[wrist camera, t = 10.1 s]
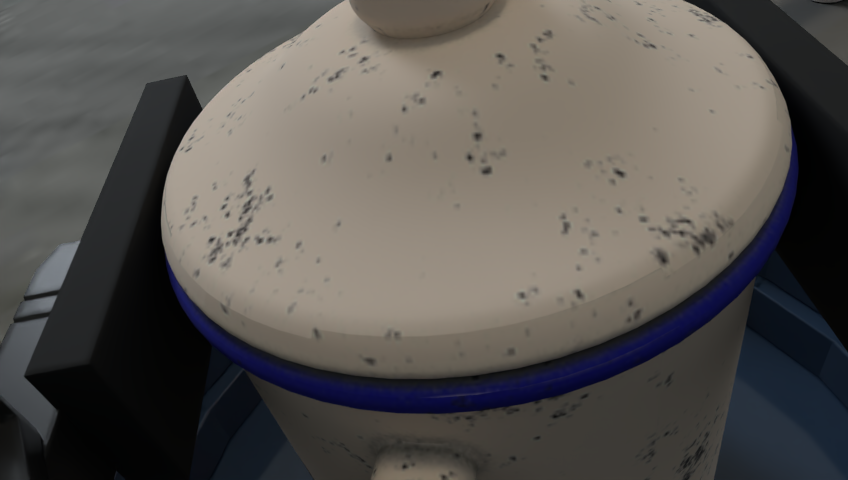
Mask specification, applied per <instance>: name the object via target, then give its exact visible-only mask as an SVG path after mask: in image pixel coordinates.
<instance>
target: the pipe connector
mask: <svg viewBox="0 0 848 480" xmlns="http://www.w3.org/2000/svg"><path fill="white" fill-rule="evenodd" d="M813 1H816V2H823V3H832V2H838V1H842V0H813Z"/></svg>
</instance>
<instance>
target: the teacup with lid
mask: <svg viewBox="0 0 848 480" xmlns="http://www.w3.org/2000/svg"><path fill="white" fill-rule="evenodd" d="M798 170H799V167H798V153H797V145H796V141H795V137H794V133H793V129H792V126H791V121H790V117H789V113H788V109H787V105H786V101H785V99H784V97H783V95H782V93H781V90H780V88H779V86H778V84H777V82H776V80H775V78H774V76H773V75H772V73H771V72H770V70H769V69H768V67H767V66H766V64H765V63H764V61H763V60H762V58H761V57H760V55H759V54H758V53H757V52H756V51H755V50H754V49H753V48H752V46H751V45H750V44H749V43H748V42H747V41H746V40H745V39H744V38H743V37H741V36H740V35H739V34H738V33H737V32H735V31H734V30H733V29H732V28H731V27H729V26H728V25H727V24H725V23H724V22H722V21H721V20H719V19H718V18H716V17H715V16H713V15H712V14H710V13H708V12H706V11H704V10H702V9H700V8H698V7H696V6H695V5H692V4H690V3H688V2H685V1H683V0H345V1H343V2H342V3H340V4H339V5H337V6H335V7H334V8H333V9H331V10H330V11H328V12H327V13H326V14H324V15H323V16H322V17H321V18H320V19H318V20H317V21H316V22H315V23H313V24H312V25H311V26H310V27H309V28H308V29H307V30H306V31H304V32H303V33H301V34H299V35H297V36H295V37H294V38H292V39H290V40H288V41H286V42H285V43H283V44H281V45H280V46H278V47H277V48H275V49H273V50H272V51H270V52H269V53H267V54H265V55H264V56H263V57H261V58H260V59H258V60H257V61H255V62H254V63H253V64H251V65H250V66H249V67H247V68H246V69H245V70H244V71H242V72H241V73H240V74H239V75H237V76H236V77H235V78H234V79H233V80H232V81H230V82H229V83H228V84H227V85H226V86H225V87H224V88H223V89H222V90H221V91H220V92H219V93H218V94H217V95H216V96H215V97H214V98H213V99H212V100H211V101H210V102H209V103H208V104H207V106H206V107H205V108H204V109H203V110H202V112H201V113H200V114H199V115H198V117H197V118H196V119H195V120H194V122H193V123H192V125H191V126H190V128H189V129H188V131H187V132H186V134H185V135H184V137H183V139H182V141H181V143H180V145H179V147H178V149H177V151H176V153H175V155H174V157H173V160H172V163H171V165H170V168H169V171H168V173H167V178H166V182H165V187H164V192H163V199H162V212H161V230H162V241H163V245H164V250H165V260H166V267H167V271H168V275H169V279H170V282H171V285H172V288H173V290H174V292H175V294H176V296H177V299H178V301H179V303H180V305H181V307H182V308H183V310H184V311H185V313H186V314H187V316H188V317H189V319H190V320H191V322H192V323H193V325H194V326H195V328H196V329H197V330H198V331H199V332H200V333H201V334H202V335H203V336H204V337H205V338H206V339H207V340H208V341H209V343H210V344H211V345H212V346H213V347H214V348H216V349H217V350H218V351H219V352H221V353H222V354H223V355H225V356H226V357H227V358H228V359H230V360H231V361H232V362H233V363H235V364H236V365H238V366H240V367H241V368H243V369H244V370H245V372H246V373H247V375H248V377H249V378H250V380H251V381H252V383H253V385H254V386H255V388H256V389H257V391H258V392H259V394H260V396H261V397H262V399H263V400H264V402H265V404H266V405H267V407H268V408H269V410H270V411H271V413H272V415H273V416H274V418H275V419H276V421H277V423H278V424H279V426H280V427H281V429H282V430H283V432H284V434H285V435H286V437H287V438H288V440H289V442H290V443H291V445H292V446H293V448H294V450H295V451H296V453H297V454H298V456H299V457H300V459H301V461H302V462H303V464H304V465H305V467H306V469H307V470H308V472H309V473H310V475H311V476H312V478H313V480H714V476H715V471H716V466H717V461H718V456H719V452H720V447H721V442H722V437H723V432H724V428H725V423H726V418H727V413H728V408H729V404H730V399H731V394H732V389H733V384H734V379H735V375H736V370H737V365H738V360H739V355H740V351H741V346H742V341H743V336H744V331H745V327H746V322H747V317H748V312H749V307H750V303H751V298H752V293H753V288H754V283H755V279H756V276H757V274H758V273H759V272H760V271H761V269H762V268H763V266H764V265H765V263H766V262H767V260H768V259H769V257H770V256H771V254H772V253H773V251H774V250H775V248H776V246H777V244H778V242H779V240H780V238H781V236H782V234H783V231H784V229H785V227H786V225H787V223H788V221H789V217H790V214H791V210H792V207H793V203H794V200H795V196H796V190H797V180H798Z"/></svg>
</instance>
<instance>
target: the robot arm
mask: <svg viewBox="0 0 848 480" xmlns="http://www.w3.org/2000/svg"><path fill="white" fill-rule="evenodd" d="M683 1H685V2H688V3H690V4H692V5H695V6H696V7H698V8H700V9H702V10H704V11H706V12H708V13H710V14H712V15H713V16H715V17H716V18H718V19H719V20H721V21H722V22H724V23H725V24H727V25H728V26H729V27H731V28H732V29H733V30H734V31H735V32H737V33H738V34H739V35H740V36H741V37H743V38H744V39H745V40H746V41H747V42H748V43H749V44H750V45H751V46H752V48H753V49H754V50H755V51H756V52H757V53H758V54H759V55H760V57H761V58H762V60H763V61H764V63H765V64H766V66H767V67H768V69H769V70H770V72H771V73H772V75H773V76H774V78H775V80H776V82H777V84H778V86H779V88H780V90H781V93H782V95H783V97H784V99H785V101H786V105H787V109H788V113H789V117H790V121H791V126H792V129H793V133H794V137H795V141H796V145H797V153H798V167H799V170H798V180H797V190H796V196H795V200H794V203H793V207H792V210H791V214H790V217H789V221H788V223H787V225H786V227H785V229H784V231H783V234H782V236H781V238H780V240H779V242H778V244H777V246H776V248H775V251H776V252H777V253H778V255H779V256H780V258H781V259H782V260H783V262H784V263H785V265H786V266H787V267H788V269H789V270H790V272H791V273H792V274H793V276H794V277H795V279H796V280H797V282H798V283H799V284H800V286H801V287H802V289H803V290H804V291H805V293H806V294H807V296H808V297H809V298H810V300H811V301H812V303H813V304H814V305H815V307H816V308H817V310H818V311H819V312H820V314H821V315H822V317H823V318H824V319H825V321H826V322H827V324H828V325H829V326H830V328H831V329H832V331H833V332H834V334H835V335H836V336H837V338H838V339H839V341H840V342H841V343H842V345H843V346H844V348H845V349H846V350H847V352H848V66H847V65H846V64H845V63H844V62H843V61H841V60H840V59H839V58H838V57H837V56H835V55H834V54H833V53H832V52H831V51H830V50H828V49H827V48H826V47H825V46H824V45H822V44H821V43H820V42H819V41H818V40H816V39H815V38H814V37H813V36H812V35H811V34H809V33H808V32H807V31H806V30H805V29H803V28H802V27H801V26H800V25H799V24H798V23H796V22H795V21H794V20H793V19H792V18H790V17H789V16H788V15H787V14H786V13H785V12H783V11H782V10H781V9H780V8H779V7H777V6H776V5H775V4H774V3H773V2H772V1H770V0H683ZM201 112H202V107H201V105H200V103H199V101H198V99H197V97H196V94H195V92H194V90H193V88H192V86H191V84H190V81H189V79H188V77H187V75H185V76H180V77H175V78H170V79H165V80H160V81H156V82H151V83H147V84H146V86H145V89H144V91H143V93H142V96H141V98H140V101H139V103H138V105H137V108H136V110H135V112H134V115H133V117H132V120H131V122H130V124H129V127H128V129H127V131H126V134H125V136H124V139H123V141H122V143H121V146H120V148H119V150H118V153H117V155H116V158H115V160H114V162H113V165H112V167H111V169H110V172H109V174H108V177H107V179H106V181H105V184H104V186H103V188H102V191H101V193H100V196H99V198H98V200H97V203H96V205H95V207H94V210H93V212H92V215H91V217H90V219H89V222H88V224H87V226H86V229H85V231H84V234H83V236H82V238H81V241H76V242H70V243H65V244H60V245H59V246H58V247H57V248H56V249H55V250H54V251H53V252H52V253H51V254H50V256H49V257H48V258H47V259H46V260H45V261H44V262H43V263H42V264H41V265H40V266H39V268H38V269H37V270H36V271H35V273H34V276H33V278H32V280H31V282H30V284H29V286H28V288H27V290H26V292H25V295H24V299H25V301H24V302H21V303H20V305H19V307H18V309H17V312H16V314H15V316H14V318H13V319H14V324H10V326H9V329H8V331H7V333H6V335H5V337H4V339H3V341H2V343H1V345H0V480H114V477H115V474H116V471H117V472H118V473H119V474H120V475H121V476H122V477H123V478H124V479H125V480H189V477H190V471H191V465H192V460H193V454H194V448H195V442H196V437H197V431H198V425H199V419H200V414H201V408H202V402H203V396H204V391H205V385H206V379H207V373H208V368H209V362H210V356H211V350H212V345H211V344H210V343H209V341H208V340H207V339H206V338H205V337H204V336H203V335H202V334H201V333H200V332H199V331H198V330H197V329H196V328H195V326H194V325H193V323H192V322H191V320H190V319H189V317H188V316H187V314H186V313H185V311H184V310H183V308H182V307H181V305H180V303H179V301H178V299H177V296H176V294H175V292H174V290H173V288H172V285H171V282H170V279H169V275H168V271H167V267H166V260H165V250H164V245H163V241H162V230H161V212H162V199H163V192H164V187H165V182H166V178H167V173H168V171H169V168H170V165H171V163H172V160H173V157H174V155H175V153H176V151H177V149H178V147H179V145H180V143H181V141H182V139H183V137H184V135H185V134H186V132H187V131H188V129H189V128H190V126H191V125H192V123H193V122H194V120H195V119H196V118H197V117H198V115H199V114H200V113H201Z"/></svg>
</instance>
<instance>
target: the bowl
mask: <svg viewBox="0 0 848 480" xmlns="http://www.w3.org/2000/svg"><path fill="white" fill-rule="evenodd" d="M114 480H125V479H124V478H123V477H122V476H121V475H120V474H119V473H118V472H117V471H116V474H115V477H114ZM189 480H313V478H312V476H311V475H310V473H309V472H308V470H307V469H306V467H305V465H304V464H303V462H302V461H301V459H300V457H299V456H298V454H297V453H296V451H295V450H294V448H293V446H292V445H291V443H290V442H289V440H288V438H287V437H286V435H285V434H284V432H283V430H282V429H281V427H280V426H279V424H278V423H277V421H276V419H275V418H274V416H273V415H272V413H271V411H270V410H269V408H268V407H267V405H266V404H265V402H264V400H263V399H262V397H261V396H260V394H259V392H258V391H257V389H256V388H255V386H254V385H253V383H252V381H251V380H250V378H249V377H248V375H247V373H246V372H245V370H244V369H243V368H241V367H240V366H238V365H236V364H235V363H233V362H232V361H231V360H230V359H228V358H227V357H226V356H225V355H223V354H222V353H221V352H219V351H218V350H217V349H216V348H214V347H213V346H212V350H211V356H210V362H209V368H208V373H207V379H206V385H205V391H204V396H203V402H202V408H201V414H200V419H199V425H198V431H197V437H196V442H195V448H194V454H193V460H192V465H191V471H190V477H189ZM714 480H848V352H847V350H846V349H845V348H844V346H843V345H842V343H841V342H840V341H839V339H838V338H837V336H836V335H835V334H834V332H833V331H832V329H831V328H830V326H829V325H828V324H827V322H826V321H825V319H824V318H823V317H822V315H821V314H820V312H819V311H818V310H817V308H816V307H815V305H814V304H813V303H812V301H811V300H810V298H809V297H808V296H807V294H806V293H805V291H804V290H803V289H802V287H801V286H800V284H799V283H798V282H797V280H796V279H795V277H794V276H793V274H792V273H791V272H790V270H789V269H788V267H787V266H786V265H785V263H784V262H783V260H782V259H781V258H780V256H779V255H778V253H777V252H776V251H775V250H774V251H773V253H772V254H771V256H770V257H769V259H768V260H767V262H766V263H765V265H764V266H763V268H762V269H761V271H760V272H759V273H758V274H757V276H756V279H755V283H754V288H753V293H752V298H751V303H750V307H749V312H748V317H747V322H746V327H745V331H744V336H743V341H742V346H741V351H740V355H739V360H738V365H737V370H736V375H735V379H734V384H733V389H732V394H731V399H730V404H729V408H728V413H727V418H726V423H725V428H724V432H723V437H722V442H721V447H720V452H719V456H718V461H717V466H716V471H715V476H714Z"/></svg>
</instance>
